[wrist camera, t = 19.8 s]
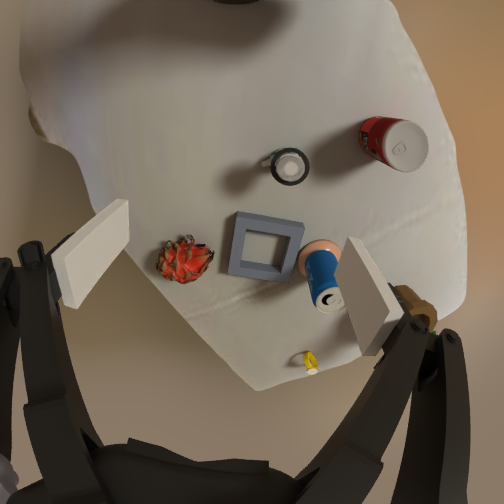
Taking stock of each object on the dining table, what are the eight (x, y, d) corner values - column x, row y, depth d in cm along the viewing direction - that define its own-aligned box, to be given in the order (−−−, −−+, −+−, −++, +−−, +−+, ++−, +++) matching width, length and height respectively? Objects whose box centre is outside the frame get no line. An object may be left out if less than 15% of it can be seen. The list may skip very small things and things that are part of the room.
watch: (300, 350, 67) (301, 367, 62) (309, 346, 66) (311, 363, 61) (310, 362, 69) (312, 378, 64) (319, 358, 68) (321, 375, 63)
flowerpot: (417, 313, 60) (463, 405, 34) (369, 329, 63) (403, 431, 37) (422, 270, 54) (487, 368, 28) (368, 287, 56) (417, 402, 30)
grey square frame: (237, 211, 48) (236, 216, 46) (302, 222, 49) (304, 228, 47) (228, 266, 54) (227, 273, 52) (287, 276, 55) (288, 283, 53)
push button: (266, 177, 45) (268, 195, 36) (256, 148, 43) (255, 158, 34) (303, 166, 44) (315, 181, 35) (294, 137, 41) (304, 144, 33)
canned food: (348, 133, 40) (373, 142, 31) (380, 107, 37) (411, 109, 28) (374, 166, 43) (402, 183, 33) (403, 140, 40) (437, 152, 30)
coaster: (304, 235, 50) (305, 237, 50) (347, 243, 51) (348, 245, 50) (292, 274, 55) (293, 277, 54) (333, 280, 55) (334, 283, 55)
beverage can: (309, 244, 50) (320, 282, 40) (340, 250, 51) (358, 288, 40) (300, 273, 53) (308, 313, 43) (329, 277, 54) (343, 317, 43)
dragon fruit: (159, 249, 55) (214, 235, 55) (168, 289, 53) (223, 276, 53) (143, 243, 46) (205, 225, 46) (152, 290, 45) (216, 274, 45)
